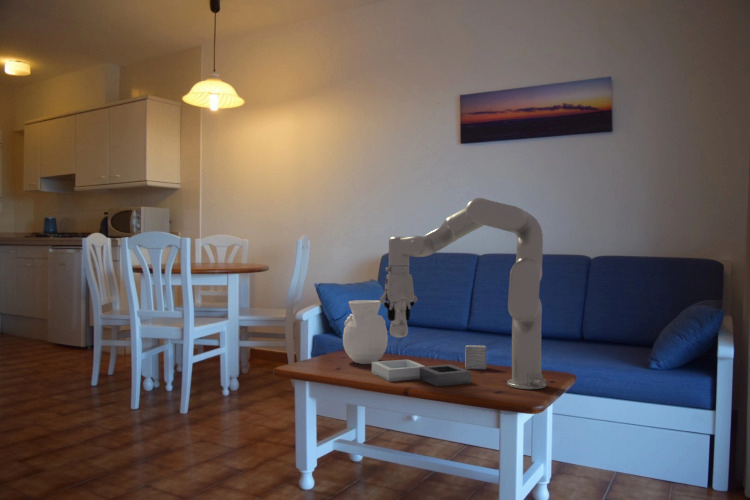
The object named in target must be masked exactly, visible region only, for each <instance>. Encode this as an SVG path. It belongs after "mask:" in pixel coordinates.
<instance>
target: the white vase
mask: <svg viewBox="0 0 750 500" xmlns="http://www.w3.org/2000/svg"><path fill="white" fill-rule="evenodd" d="M381 305H382V303H381V302H380V301H379V300H378V299H377V300H374V299H372V300H371V299H370V300H368V299H366V300H365V299H362V300H361V299H355V300H349V301H348V306H349V308H350V311H351V313H350V314H349V315H348V316H347V317H346V320H345V321H344V323H343V325H344V328H343V334H342V335H343V336H342V346H343V349H344V351H345V353H346V354H347V355H348V357H349V358H350V359H351V360H352V361H353V362H354V363H355V364H358V363H359V364H360V365H372V362H379V361H380V359H382V357H383V356H384V354H385V352H386V350H387V348H388V342H389V340H388V339H389V337H388V329H387V326H386V321H385V319H384V317H383V316H382V315H379V310H380V308H381Z"/></svg>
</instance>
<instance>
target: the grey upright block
mask: <svg viewBox="0 0 750 500" xmlns="http://www.w3.org/2000/svg"><path fill="white" fill-rule="evenodd" d="M464 347H465V349H464V355H465V357H464V360H465V361H464V362H465V363H464V366H465V370H487V346H486V345H479V344H478V345H474V344H473V345H471V344H470V345H464Z"/></svg>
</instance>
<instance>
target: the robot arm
mask: <svg viewBox="0 0 750 500" xmlns="http://www.w3.org/2000/svg"><path fill="white" fill-rule="evenodd" d="M483 226H485V227H489V228H490V227H491V228H494V229H499V230H501V231H505V232H509V233H513V234H515V235H516V240H517V241H516V255H515V256H516V258H515V263H514V264H513V265H512V267H511V269H510V272H509V280H508V281H509V282H508V284H509V285H508V298H507V299H508V300H507V311H508V313H509V315H510V317H511V319H512V322H511V378H510V379H508V380H507V382H506V383H507V386H508V387H510V388H515V389H521V390H539V389H540V390H541V389H544V388H546V387H547V379H545V378H543V373H542V321H543V319H542V317H543V315H542V314H543V307H542V306H543V305H542V301H541V299H540V285H541V280H542V278H543V252H544V251H543V247H544V245H543V244H544V243H543V242H544V239H543V238H544V236H543V234H544V233H543V230H542V227H541V224H540V223H539V221H538V220H537V218H536V217H534V216H533V215H532V214H531V213H529V212H528V211H525V210H524V209H522V208H520V207H518V206H514V205H511V204H506V203H502V202H499V201H494V200H490V199H486V198H482V197H476V198H473V199H471V200H470V201H469V202H468V203H467V204H466V206H465V208H462V209H461V210H458V211H456V212H455V213H453V214H451V215H449V216H448V217H446V218H445V219H444V221H443V222H442V224H441V225H440V226H439V227H437V228H436V229H434V230H432V231H430V232H429V233H427V234H424V235H413V236H412V235H411V236H391V237H390V238H389V239H388V266H387V267H385V268H384V269H385V272H387V274H386V278H385V284H384V293H383V294H382V295H381V296H380V298H379V300H378V301H380V302H381V305H383V306H384V307H385V308H386V309H387V319H388V321H389V322H391V321H393V320H394V310H392V308H393V305H394V302H398V301H400V300H399V297H400V296H401V295H404V296H405V297H406V300H405V301H406V302H407V309H406V319H407V321H410V317H411V315H410V314H411V311H410V310H411V309H412V308H413V306H414V305H415V303H417V302H418V301H419V299H418V297H417V296H416V294H415V290H414V281H413V276H412V274H410V257H415V258H420V257H421V258H423V257H428V256H431V255H432V254H433V255H434V253H437V252H439V251H440V250H443V249H444V248H446V247H447V246H450V245H451V244H452V243H455V242H456V241H457V240H459V239H461V238H463V237H464V236H466V235H469V234H470V233H471V232H474V231H476V230H477V229H479V228H482V227H483Z"/></svg>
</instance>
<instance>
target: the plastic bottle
mask: <svg viewBox="0 0 750 500" xmlns="http://www.w3.org/2000/svg"><path fill="white" fill-rule="evenodd" d="M399 300H400V301H398V302H394V305H393V308H392V310H394V320H393V321H390V325H389V334H390V336H391V337H394V338H398V339H399V338H404V337H407V336H408V334H409V327H408V322H407V321H408V320H407V319H406V309H407V302H406V301H405V300H406V297H405V296H404V295H401V296H400V297H399Z"/></svg>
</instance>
